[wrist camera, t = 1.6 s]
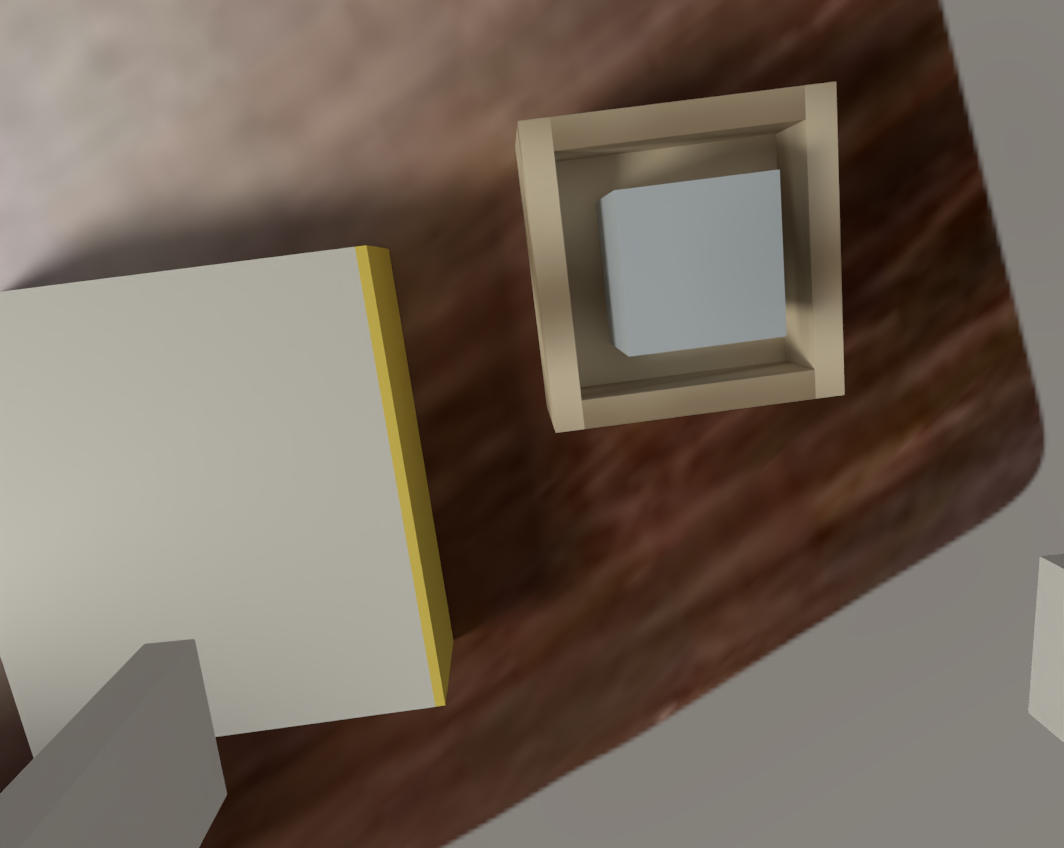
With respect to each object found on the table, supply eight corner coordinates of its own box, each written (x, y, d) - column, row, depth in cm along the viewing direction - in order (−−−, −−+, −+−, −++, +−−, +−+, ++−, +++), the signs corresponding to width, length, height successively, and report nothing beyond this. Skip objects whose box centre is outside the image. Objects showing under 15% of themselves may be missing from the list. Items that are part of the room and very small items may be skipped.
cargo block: (595, 202, 25) (613, 190, 21) (736, 184, 25) (779, 169, 21) (609, 342, 26) (628, 356, 22) (743, 325, 26) (786, 336, 22)
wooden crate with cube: (513, 155, 29) (518, 121, 22) (756, 125, 29) (836, 81, 22) (543, 396, 31) (555, 432, 24) (768, 366, 31) (844, 394, 24)
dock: (-10, 299, 29) (-114, 306, 24) (388, 248, 29) (366, 245, 24) (103, 688, 33) (34, 761, 28) (453, 640, 33) (445, 705, 28)
